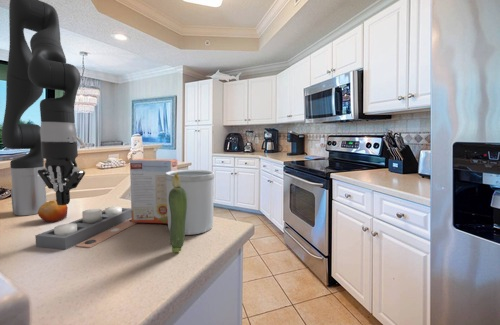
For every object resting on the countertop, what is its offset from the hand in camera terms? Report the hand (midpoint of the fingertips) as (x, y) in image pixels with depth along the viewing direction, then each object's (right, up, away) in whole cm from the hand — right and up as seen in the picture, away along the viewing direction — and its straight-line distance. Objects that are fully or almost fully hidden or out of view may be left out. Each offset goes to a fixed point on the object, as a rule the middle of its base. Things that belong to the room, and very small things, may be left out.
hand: (63, 204), depth 67 cm
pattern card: (+9, -10, +8) cm, 16 cm away
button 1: (0, -9, +1) cm, 9 cm away
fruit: (-17, -9, +18) cm, 26 cm away
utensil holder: (+31, -9, +11) cm, 35 cm away
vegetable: (+33, -11, -5) cm, 35 cm away
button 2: (+3, -8, +18) cm, 20 cm away
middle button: (+2, -7, +9) cm, 12 cm away
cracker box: (+18, -9, +17) cm, 26 cm away
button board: (+2, -9, +10) cm, 14 cm away
